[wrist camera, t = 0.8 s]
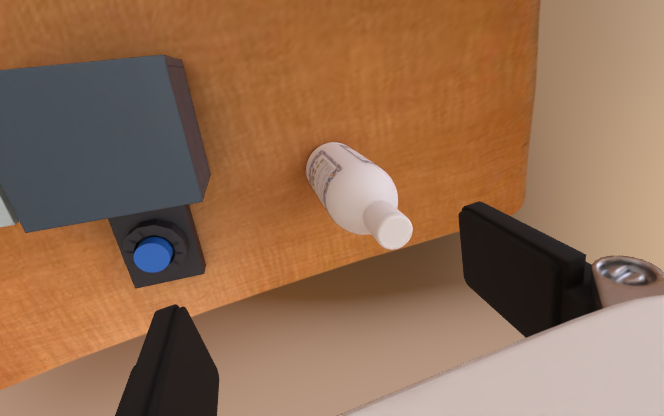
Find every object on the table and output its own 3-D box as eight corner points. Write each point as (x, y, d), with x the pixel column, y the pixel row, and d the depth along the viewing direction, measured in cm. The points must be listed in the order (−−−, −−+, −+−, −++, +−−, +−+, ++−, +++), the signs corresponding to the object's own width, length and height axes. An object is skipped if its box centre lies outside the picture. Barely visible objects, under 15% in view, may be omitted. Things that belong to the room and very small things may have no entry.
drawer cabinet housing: (74, 196, 38) (25, 233, 29) (23, 75, 33) (-55, 75, 24) (210, 174, 40) (202, 201, 32) (181, 59, 36) (163, 54, 27)
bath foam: (311, 200, 45) (360, 284, 27) (299, 149, 42) (343, 205, 24) (361, 185, 46) (440, 257, 28) (352, 135, 43) (433, 178, 25)
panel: (112, 205, 39) (99, 218, 35) (185, 193, 41) (180, 204, 37) (140, 278, 43) (130, 297, 39) (206, 264, 44) (203, 281, 41)
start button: (133, 240, 37) (128, 247, 36) (167, 233, 38) (164, 240, 37) (143, 267, 39) (139, 276, 37) (176, 261, 39) (174, 268, 38)
